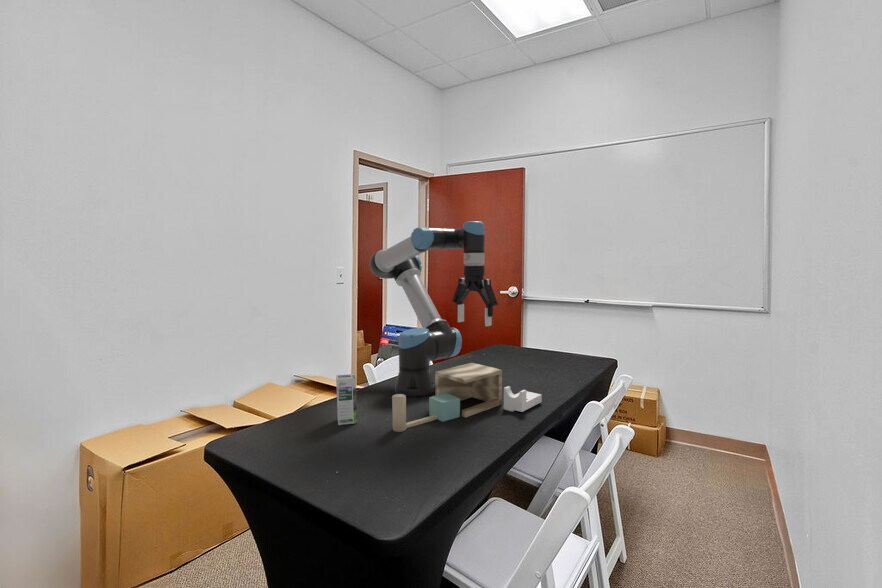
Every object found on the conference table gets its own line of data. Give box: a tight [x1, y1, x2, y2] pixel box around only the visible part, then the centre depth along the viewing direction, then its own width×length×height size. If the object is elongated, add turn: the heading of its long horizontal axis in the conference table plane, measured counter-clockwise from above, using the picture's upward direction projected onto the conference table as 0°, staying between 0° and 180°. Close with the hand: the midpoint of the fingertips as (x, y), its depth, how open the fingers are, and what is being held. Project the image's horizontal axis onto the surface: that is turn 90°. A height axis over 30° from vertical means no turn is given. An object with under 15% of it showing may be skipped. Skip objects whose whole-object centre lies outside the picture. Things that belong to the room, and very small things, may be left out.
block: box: [391, 393, 461, 433], centre depth 133 cm, size 7×22×10 cm, turn 128°
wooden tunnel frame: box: [434, 362, 503, 418], centre depth 148 cm, size 14×18×12 cm
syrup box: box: [335, 373, 358, 426], centre depth 134 cm, size 6×6×14 cm
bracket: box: [503, 385, 543, 413], centre depth 147 cm, size 13×7×8 cm, turn 139°
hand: (474, 323), depth 156 cm, fingers open, 13 cm apart
